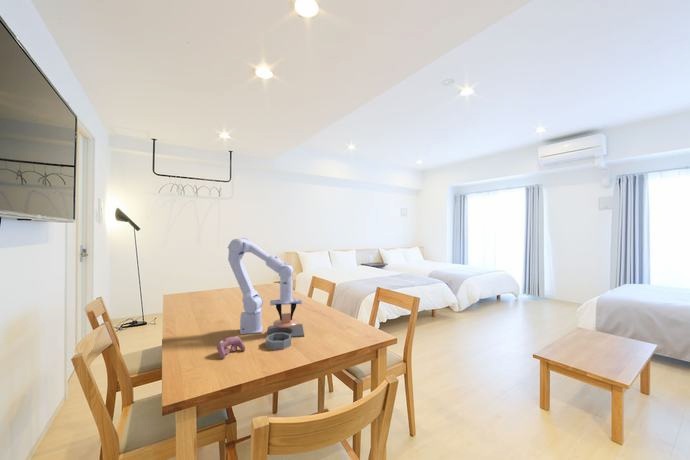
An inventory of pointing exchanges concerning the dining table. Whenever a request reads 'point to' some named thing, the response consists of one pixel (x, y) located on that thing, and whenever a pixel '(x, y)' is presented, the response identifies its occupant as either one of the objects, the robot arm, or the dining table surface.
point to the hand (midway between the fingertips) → (286, 319)
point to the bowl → (278, 341)
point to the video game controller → (226, 342)
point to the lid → (286, 321)
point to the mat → (288, 330)
